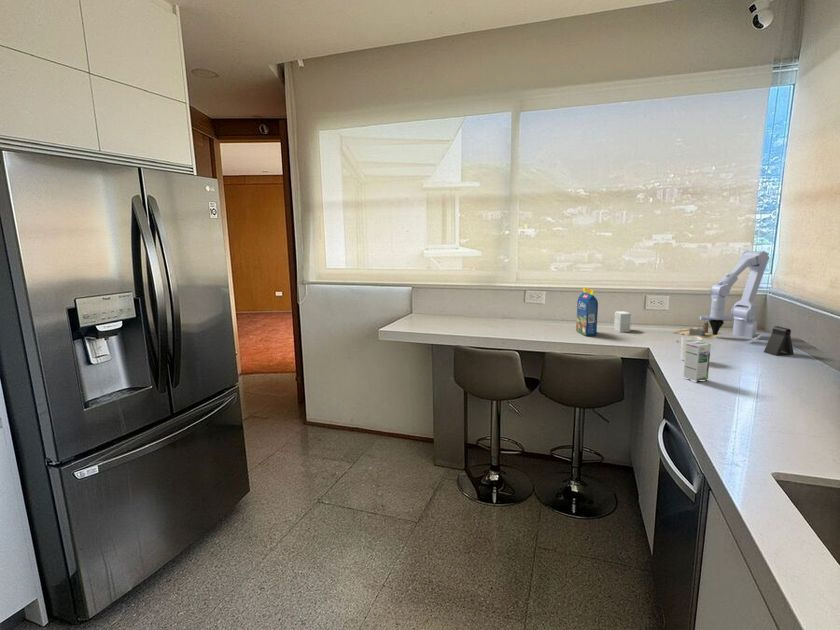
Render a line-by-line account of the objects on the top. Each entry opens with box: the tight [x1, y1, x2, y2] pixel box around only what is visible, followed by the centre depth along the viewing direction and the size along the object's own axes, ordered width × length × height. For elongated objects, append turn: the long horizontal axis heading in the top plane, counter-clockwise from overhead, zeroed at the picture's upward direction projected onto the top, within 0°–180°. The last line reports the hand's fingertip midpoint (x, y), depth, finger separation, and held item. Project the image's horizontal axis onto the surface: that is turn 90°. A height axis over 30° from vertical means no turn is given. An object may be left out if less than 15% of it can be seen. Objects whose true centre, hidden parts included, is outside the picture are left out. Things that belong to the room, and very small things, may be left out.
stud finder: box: [689, 327, 706, 336], centre depth 229 cm, size 6×4×3 cm
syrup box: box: [683, 341, 712, 381], centre depth 165 cm, size 6×6×14 cm
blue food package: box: [575, 287, 599, 337], centre depth 239 cm, size 6×12×25 cm, turn 4°
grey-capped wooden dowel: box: [702, 320, 710, 333], centre depth 233 cm, size 2×2×6 cm
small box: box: [613, 310, 632, 333], centre depth 245 cm, size 8×6×10 cm
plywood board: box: [673, 328, 722, 340], centre depth 232 cm, size 18×16×1 cm
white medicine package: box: [680, 335, 704, 360], centre depth 189 cm, size 8×8×10 cm
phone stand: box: [763, 325, 795, 357], centre depth 196 cm, size 9×6×12 cm, turn 97°
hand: (714, 334), depth 223 cm, fingers closed
